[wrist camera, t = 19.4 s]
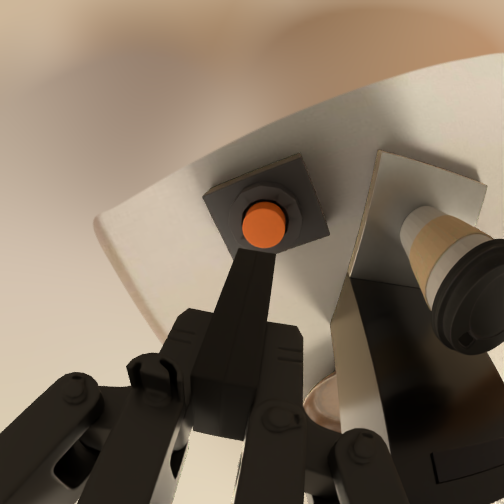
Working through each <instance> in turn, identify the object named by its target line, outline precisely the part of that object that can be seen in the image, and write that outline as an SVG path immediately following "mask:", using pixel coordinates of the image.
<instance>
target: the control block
mask: <svg viewBox="0 0 504 504" xmlns="http://www.w3.org/2000/svg"><path fill="white" fill-rule="evenodd" d="M203 199H204V202H205V204H206V206H207V208H208V210H209V212H210V214H211V216H212V218H213V220H214V222H215V224H216V226H217V228H218V230H219V232H220V234H221V236H222V238H223V240H224V242H225V244H226V246H227V248H228V250H229V252H230V254H231V256H232V258H233V260H234V258H235V256H236V253H237V251H238V248H243V249H249V250H255V251H261V252H267V253H273V254H277V253H280V252H283V251H286V250H288V249H290V248H293V247H296V246H299V245H302V244H305V243H308V242H311V241H314V240H317V239H320V238H323V237H326V236H329V235H330V233H329V229H328V226H327V223H326V220H325V217H324V215H323V212H322V209H321V206H320V203H319V201H318V198H317V195H316V193H315V190H314V187H313V185H312V182H311V179H310V177H309V174H308V172H307V169H306V166H305V164H304V161H303V159H302V156H301V154H300V153H298V154H296V155H293V156H290V157H288V158H285V159H282V160H280V161H277V162H274V163H272V164H269V165H267V166H264V167H262V168H259V169H256V170H254V171H251V172H249V173H246V174H244V175H242V176H239V177H237V178H234V179H232V180H229V181H227V182H225V183H222V184H220V185H218V186H215V187H213V188H211V189H210V190H209V191H208V192H207V193H206V194H204V195H203ZM265 201H266V202H271V203H274V204H276V205H277V206H279V207H280V208H281V209H282V211H283V213H284V215H285V220H286V223H285V234H284V236H283V238H282V240H281V241H280V242H279V243H278V244H277V245H275V246H273V247H269V248H259V247H256V246H254V245H252V244H251V243H249V242H248V241H247V239H246V238H245V236H244V234H243V230H242V225H243V221H244V218H245V216H246V214H247V212H248V210H249V209H250V207H251V206H253V205H254V204H256V203H259V202H265Z"/></svg>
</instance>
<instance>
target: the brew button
mask: <svg viewBox="0 0 504 504" xmlns="http://www.w3.org/2000/svg"><path fill="white" fill-rule="evenodd" d="M285 223H286V220H285V215H284V213H283V211H282V209H281V208H280V207H279V206H277V205H276V204H274V203H271V202H266V201H265V202H259V203H256V204H254V205H253V206H251V207H250V209H249V210H248V212H247V214H246V216H245V218H244V221H243V225H242V230H243V234H244V236H245V238H246V239H247V241H248V242H249V243H251V244H252V245H254V246H256V247H259V248H269V247H273V246H275V245H277V244H278V243H279V242H280V241H281V240H282V238H283V236H284V234H285Z"/></svg>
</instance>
